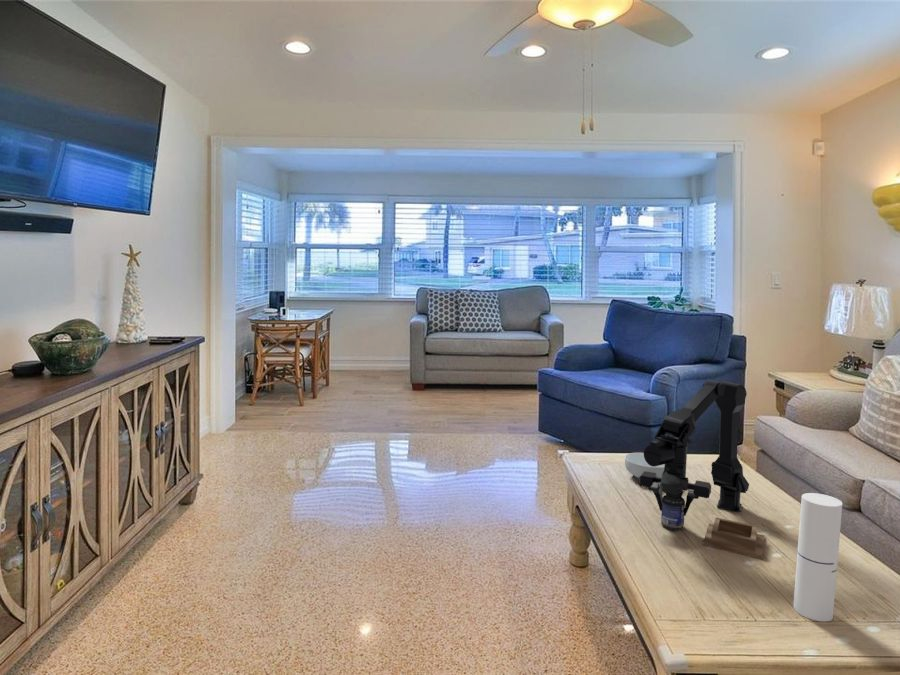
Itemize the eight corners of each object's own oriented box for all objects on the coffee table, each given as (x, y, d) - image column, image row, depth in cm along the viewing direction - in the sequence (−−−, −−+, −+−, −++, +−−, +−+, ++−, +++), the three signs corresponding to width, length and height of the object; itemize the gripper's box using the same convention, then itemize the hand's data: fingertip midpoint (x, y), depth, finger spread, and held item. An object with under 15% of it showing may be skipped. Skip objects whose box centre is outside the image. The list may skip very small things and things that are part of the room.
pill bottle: (685, 532, 156) (687, 494, 155) (662, 529, 158) (664, 492, 156) (681, 522, 162) (683, 486, 161) (659, 520, 164) (661, 484, 162)
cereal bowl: (681, 487, 190) (682, 467, 189) (632, 486, 190) (633, 466, 190) (663, 470, 207) (663, 451, 206) (618, 469, 207) (619, 451, 206)
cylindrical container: (785, 602, 122) (793, 493, 120) (816, 601, 123) (824, 492, 120) (809, 622, 115) (818, 507, 113) (841, 620, 116) (851, 505, 113)
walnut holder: (708, 525, 160) (709, 513, 160) (764, 537, 153) (765, 524, 153) (702, 545, 148) (703, 532, 148) (762, 559, 141) (763, 545, 141)
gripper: (635, 462, 156) (633, 515, 157) (708, 474, 146) (704, 531, 148) (644, 452, 165) (641, 502, 167) (712, 462, 156) (709, 516, 157)
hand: (672, 512), depth 160 cm, fingers closed on pill bottle, 6 cm apart
